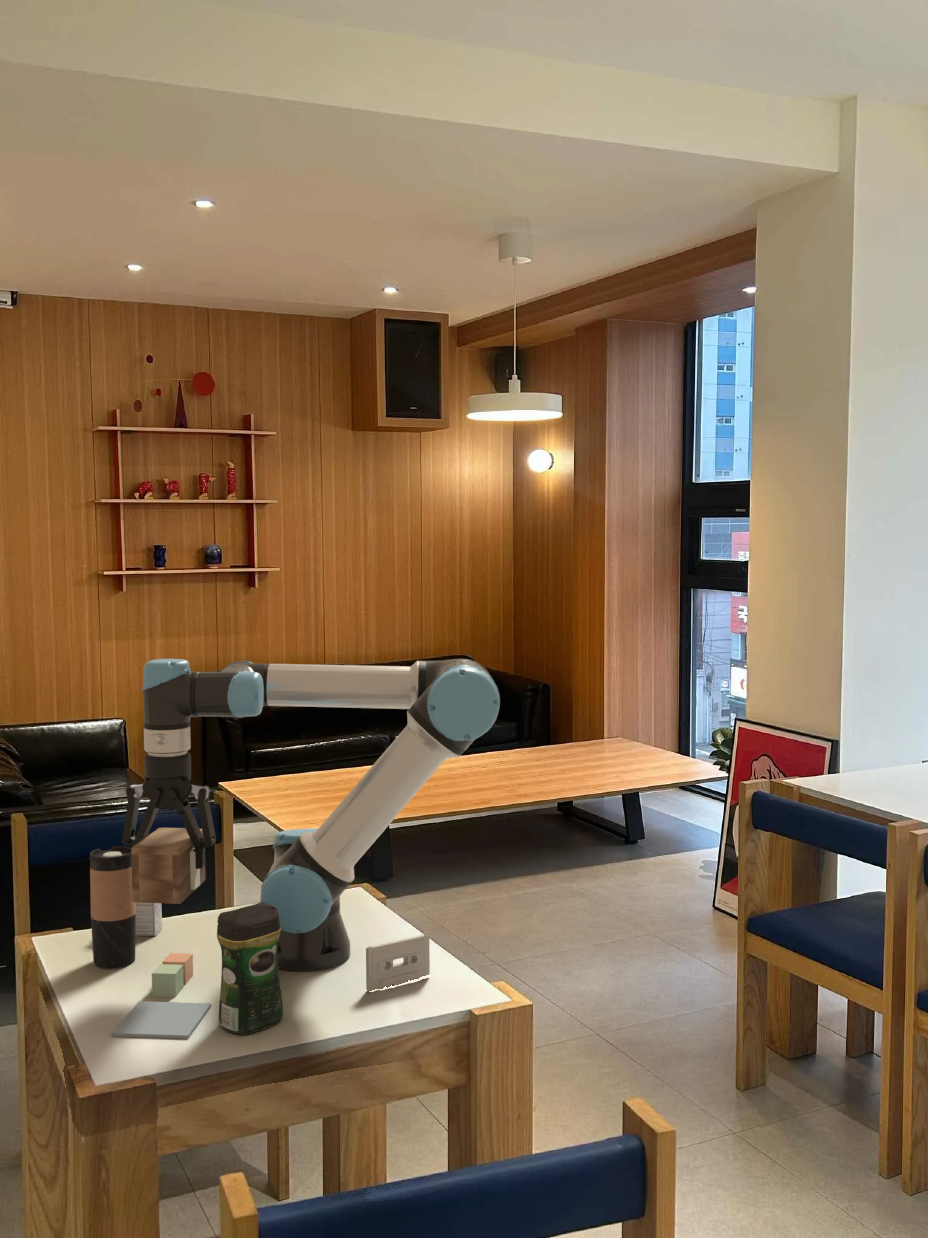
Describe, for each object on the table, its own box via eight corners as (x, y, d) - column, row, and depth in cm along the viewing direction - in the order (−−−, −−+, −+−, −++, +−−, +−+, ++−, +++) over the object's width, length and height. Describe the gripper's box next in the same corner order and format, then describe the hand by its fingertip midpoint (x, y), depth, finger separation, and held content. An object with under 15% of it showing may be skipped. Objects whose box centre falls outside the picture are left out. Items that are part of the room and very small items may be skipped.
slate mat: (211, 1006, 186) (211, 1003, 186) (188, 1038, 174) (188, 1035, 174) (139, 1004, 187) (139, 1001, 187) (111, 1036, 175) (111, 1033, 175)
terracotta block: (193, 976, 199) (192, 953, 199) (185, 985, 195) (185, 962, 195) (170, 975, 200) (170, 953, 199) (162, 984, 196) (162, 961, 195)
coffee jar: (262, 1007, 186) (260, 894, 185) (291, 1022, 180) (289, 906, 179) (209, 1025, 179) (207, 908, 178) (238, 1041, 174) (236, 920, 172)
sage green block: (183, 988, 194) (183, 965, 194) (175, 997, 190) (175, 974, 190) (160, 987, 194) (159, 964, 194) (152, 997, 191) (151, 973, 190)
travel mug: (123, 971, 201) (121, 859, 200) (83, 968, 203) (80, 856, 201) (144, 955, 209) (141, 847, 207) (105, 952, 210) (103, 845, 209)
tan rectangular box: (205, 880, 199) (204, 828, 199) (180, 904, 186) (179, 849, 186) (160, 878, 200) (159, 827, 199) (132, 902, 187) (131, 848, 186)
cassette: (369, 995, 191) (369, 950, 191) (364, 991, 193) (364, 946, 192) (431, 979, 198) (431, 936, 197) (425, 976, 199) (425, 932, 199)
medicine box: (162, 929, 223) (161, 885, 222) (155, 937, 219) (154, 892, 218) (122, 928, 223) (121, 885, 223) (114, 936, 219) (113, 892, 218)
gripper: (97, 755, 189) (100, 891, 190) (222, 757, 187) (224, 895, 188) (115, 747, 196) (118, 878, 198) (235, 749, 194) (237, 881, 196)
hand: (169, 886), depth 193 cm, fingers closed on tan rectangular box, 8 cm apart
